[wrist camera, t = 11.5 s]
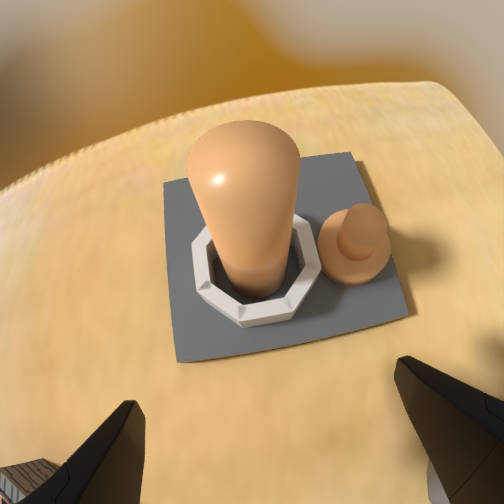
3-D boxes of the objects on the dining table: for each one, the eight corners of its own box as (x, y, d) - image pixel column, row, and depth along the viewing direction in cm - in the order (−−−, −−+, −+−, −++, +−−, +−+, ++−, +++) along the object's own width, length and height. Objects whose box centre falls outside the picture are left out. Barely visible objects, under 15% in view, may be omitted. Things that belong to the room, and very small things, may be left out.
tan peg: (296, 277, 23) (324, 170, 11) (247, 309, 22) (221, 230, 10) (264, 234, 24) (258, 107, 12) (217, 263, 24) (168, 151, 12)
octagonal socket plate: (401, 318, 22) (439, 298, 16) (182, 363, 22) (151, 358, 16) (347, 161, 29) (360, 114, 23) (168, 191, 28) (146, 148, 23)
